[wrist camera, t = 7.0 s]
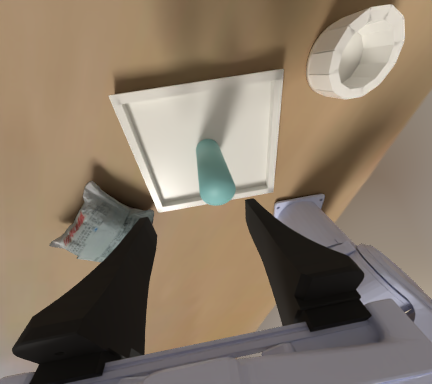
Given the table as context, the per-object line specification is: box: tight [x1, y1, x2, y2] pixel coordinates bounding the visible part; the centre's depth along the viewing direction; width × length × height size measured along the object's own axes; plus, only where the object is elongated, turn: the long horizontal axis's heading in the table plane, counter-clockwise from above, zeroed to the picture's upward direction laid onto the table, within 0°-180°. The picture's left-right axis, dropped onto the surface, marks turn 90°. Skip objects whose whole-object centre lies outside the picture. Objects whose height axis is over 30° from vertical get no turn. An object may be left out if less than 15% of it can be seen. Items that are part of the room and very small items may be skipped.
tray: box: [109, 69, 284, 213], centre depth 20 cm, size 14×16×2 cm
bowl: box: [306, 4, 405, 99], centre depth 16 cm, size 6×6×4 cm
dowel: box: [196, 139, 236, 205], centre depth 17 cm, size 3×3×8 cm
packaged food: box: [49, 181, 154, 262], centre depth 23 cm, size 9×12×5 cm
